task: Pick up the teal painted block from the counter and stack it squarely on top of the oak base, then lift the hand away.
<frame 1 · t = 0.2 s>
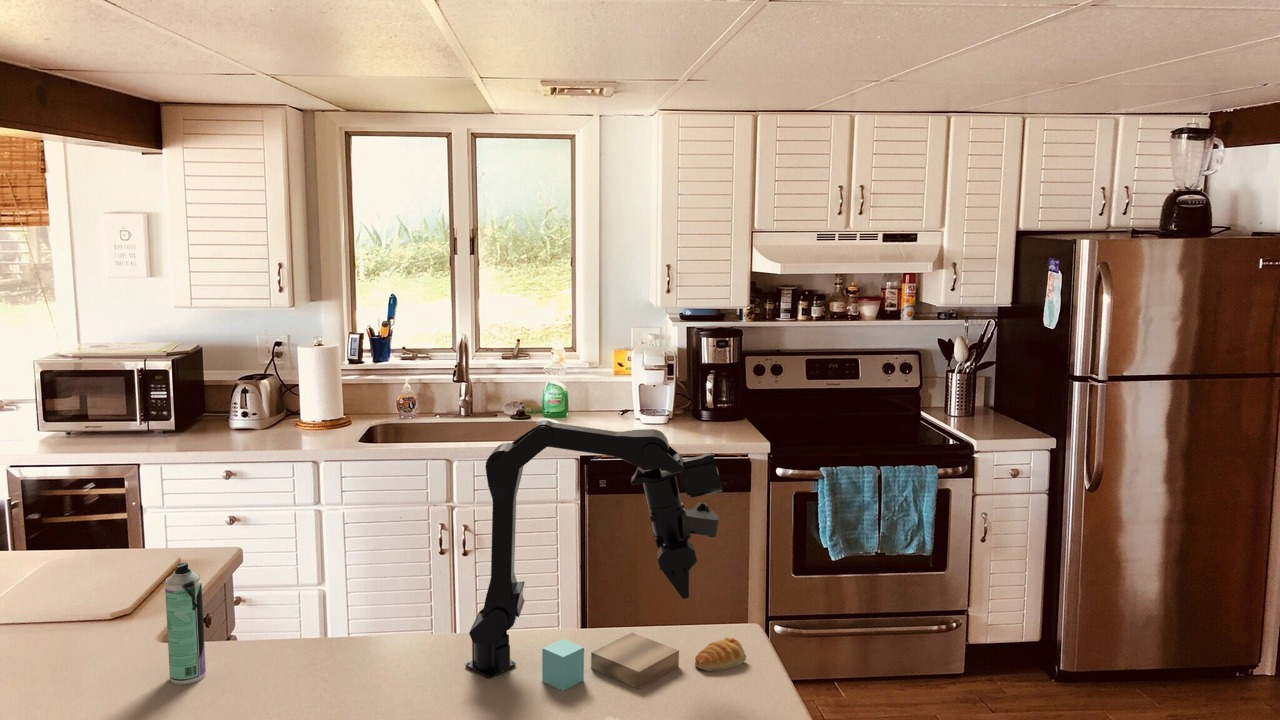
hand: (683, 588, 160), 15 cm above the worktop, tool pointing down, fingers open, 9 cm apart
teal block: (563, 680, 158), on the worktop
oak base: (635, 667, 163), on the worktop
spray can: (188, 678, 157), on the worktop
pastry: (721, 664, 166), on the worktop
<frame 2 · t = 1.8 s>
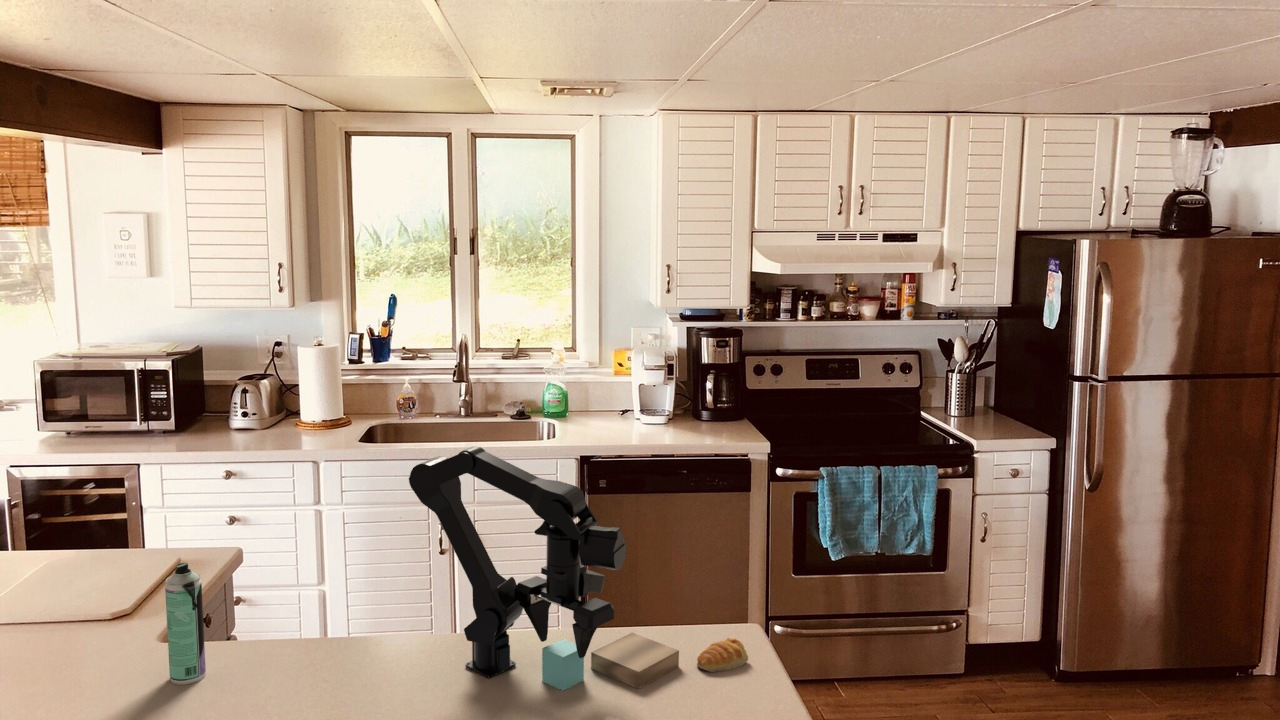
hand: (562, 649, 157), 6 cm above the worktop, tool pointing down, fingers open, 9 cm apart
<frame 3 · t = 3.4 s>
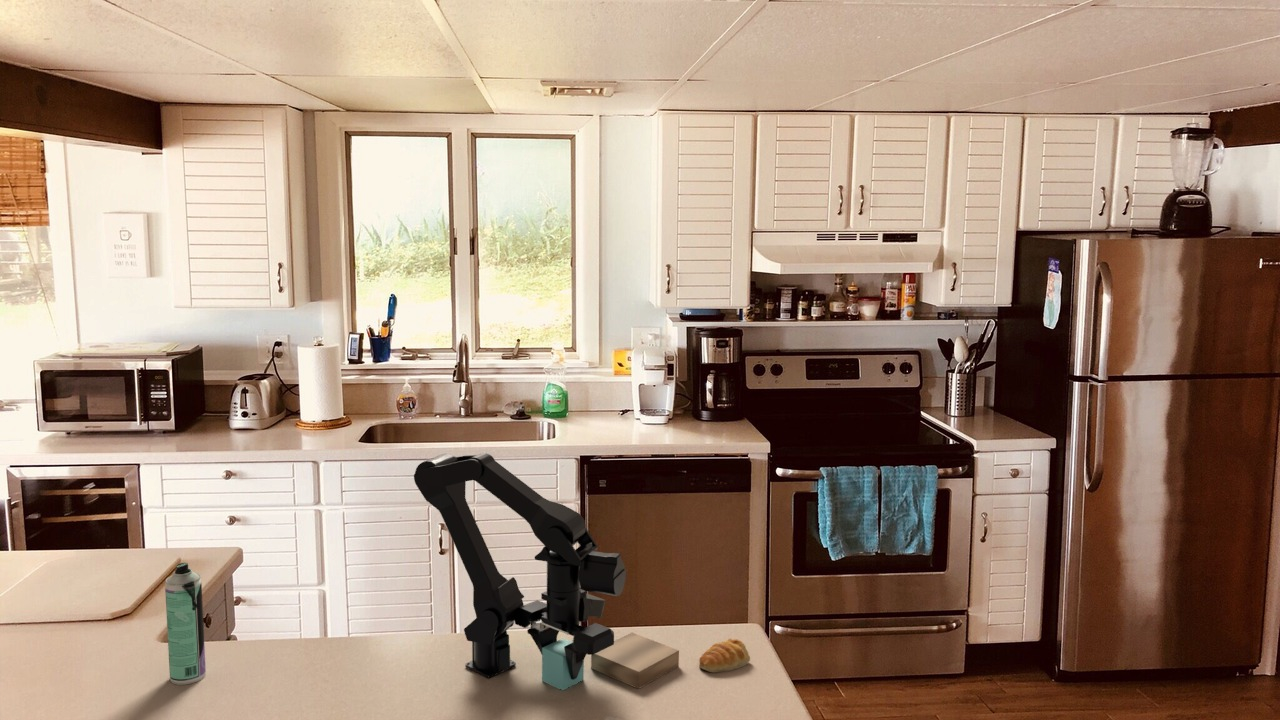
hand: (562, 673, 158), 1 cm above the worktop, tool pointing down, fingers closed on teal block, 5 cm apart
teal block: (562, 680, 158), on the worktop, touching gripper
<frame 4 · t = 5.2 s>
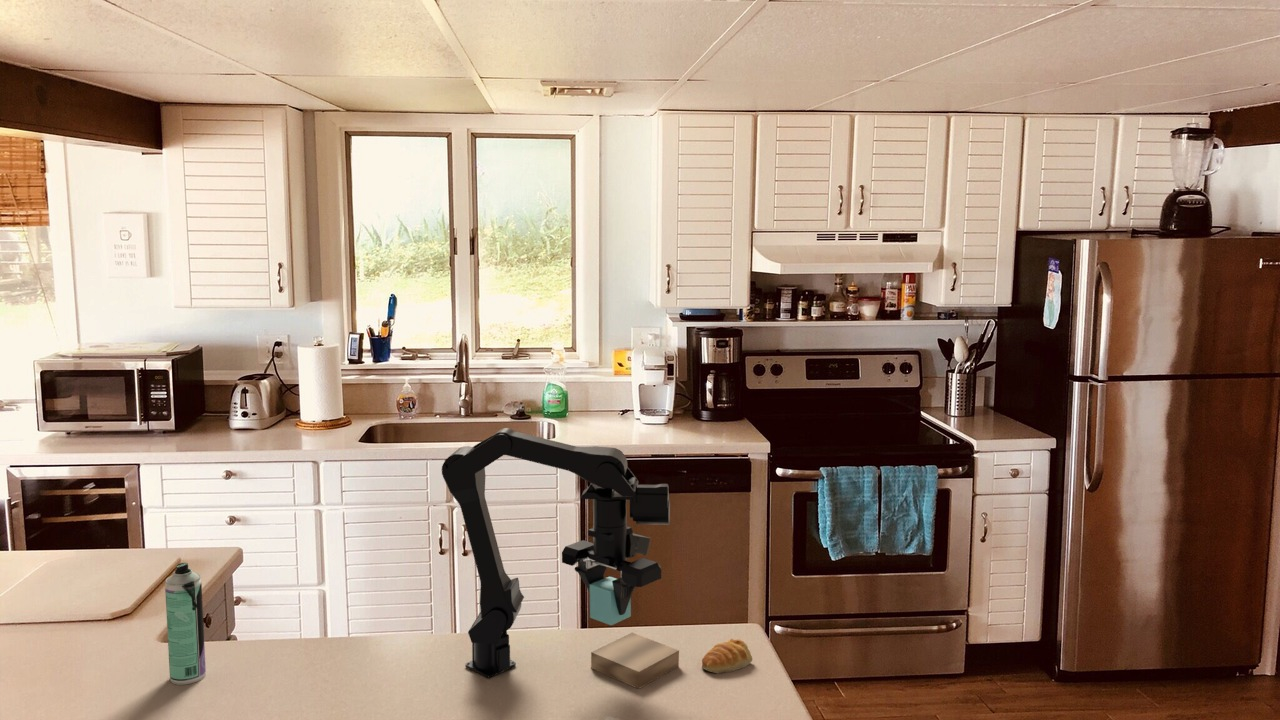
hand: (610, 610, 159), 11 cm above the worktop, tool pointing down, fingers closed on teal block, 5 cm apart
teal block: (610, 617, 160), point 10 cm above the worktop, touching gripper
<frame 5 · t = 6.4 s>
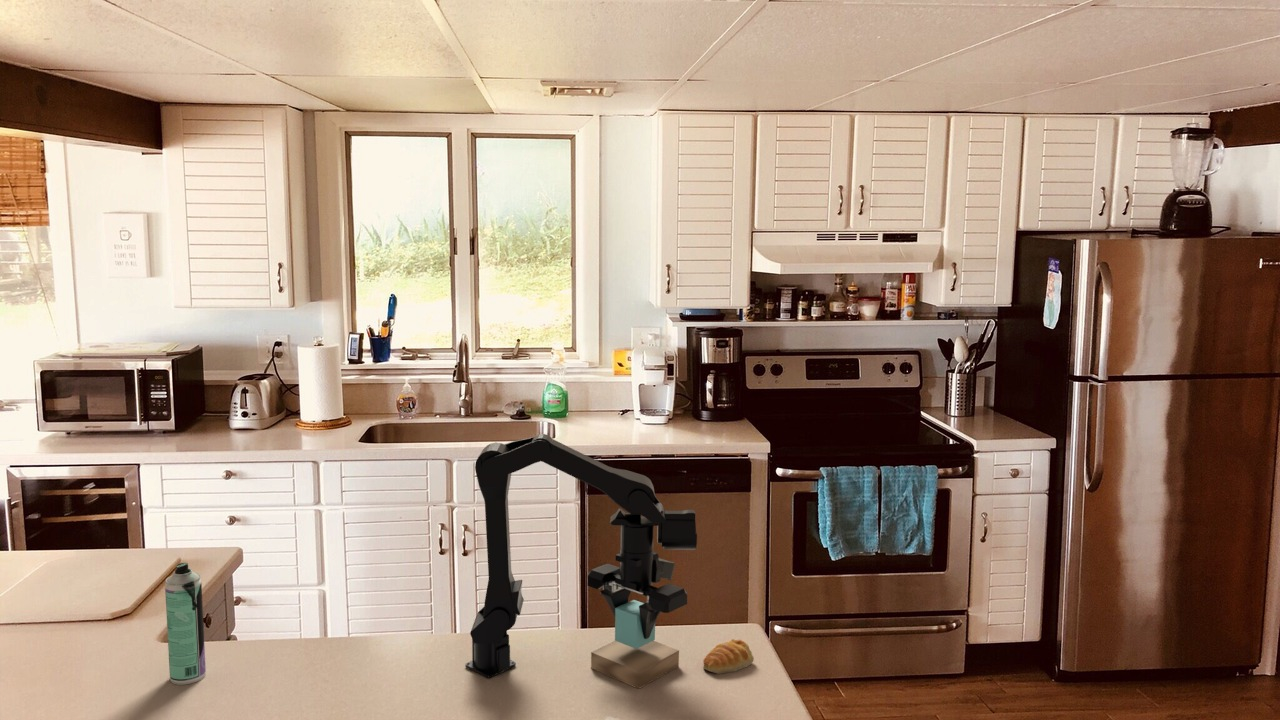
hand: (635, 633, 162), 6 cm above the worktop, tool pointing down, fingers closed on teal block, 5 cm apart
teal block: (634, 640, 163), point 5 cm above the worktop, touching gripper
when the fingers open (5 cm above the worktop, at t = 7.3 s): teal block drops 1 cm, resting on oak base.
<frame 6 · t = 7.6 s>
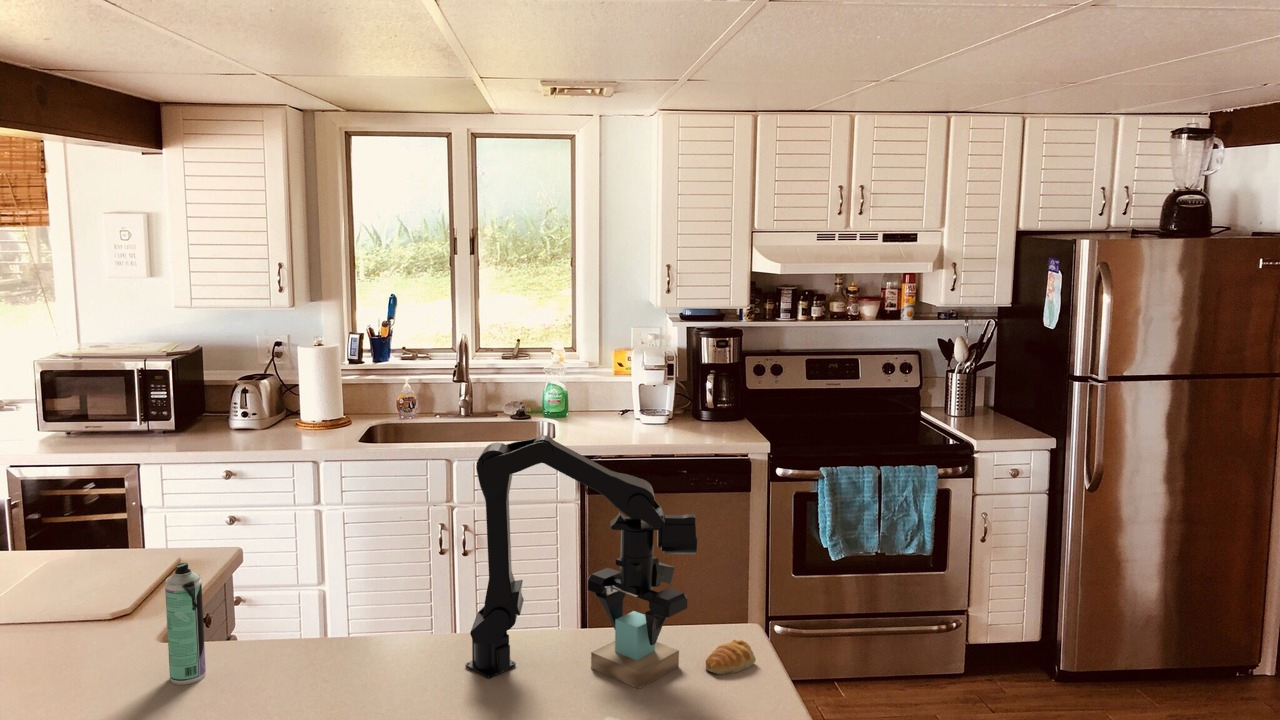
hand: (635, 637, 162), 5 cm above the worktop, tool pointing down, fingers open, 8 cm apart
teal block: (634, 651, 163), point 3 cm above the worktop, touching oak base
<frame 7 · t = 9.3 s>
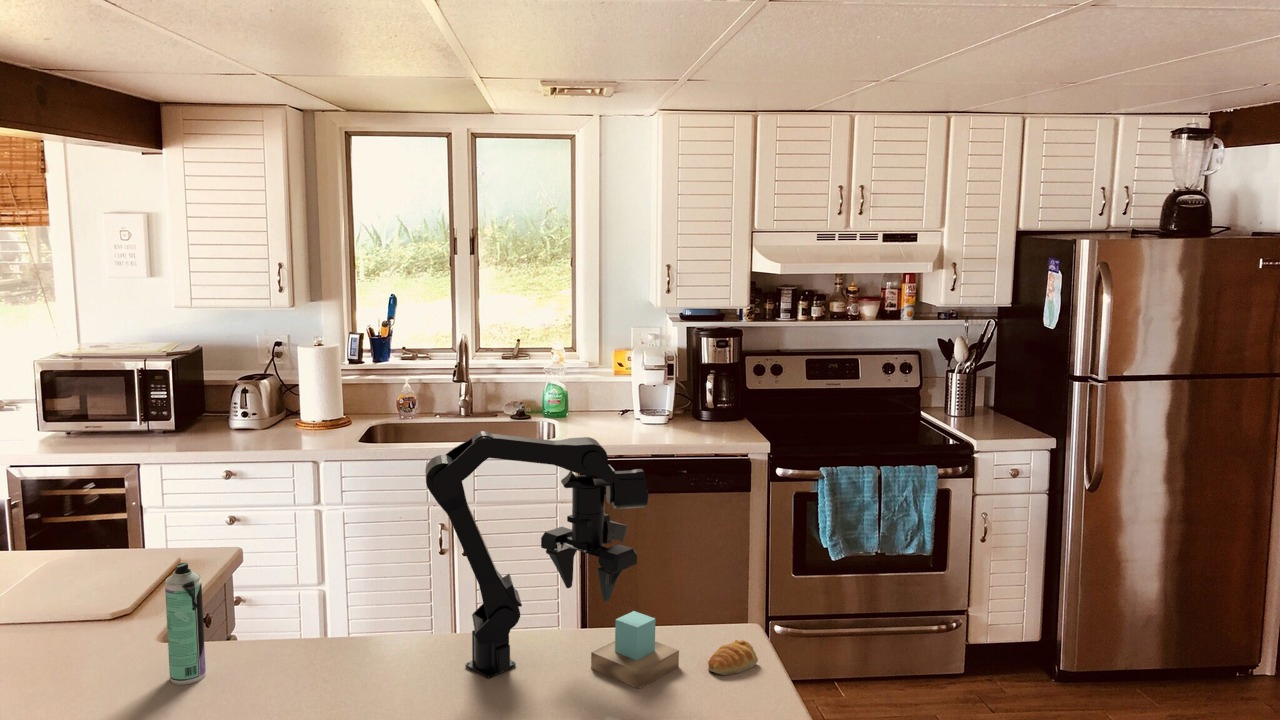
hand: (587, 594, 165), 12 cm above the worktop, tool pointing down, fingers open, 9 cm apart
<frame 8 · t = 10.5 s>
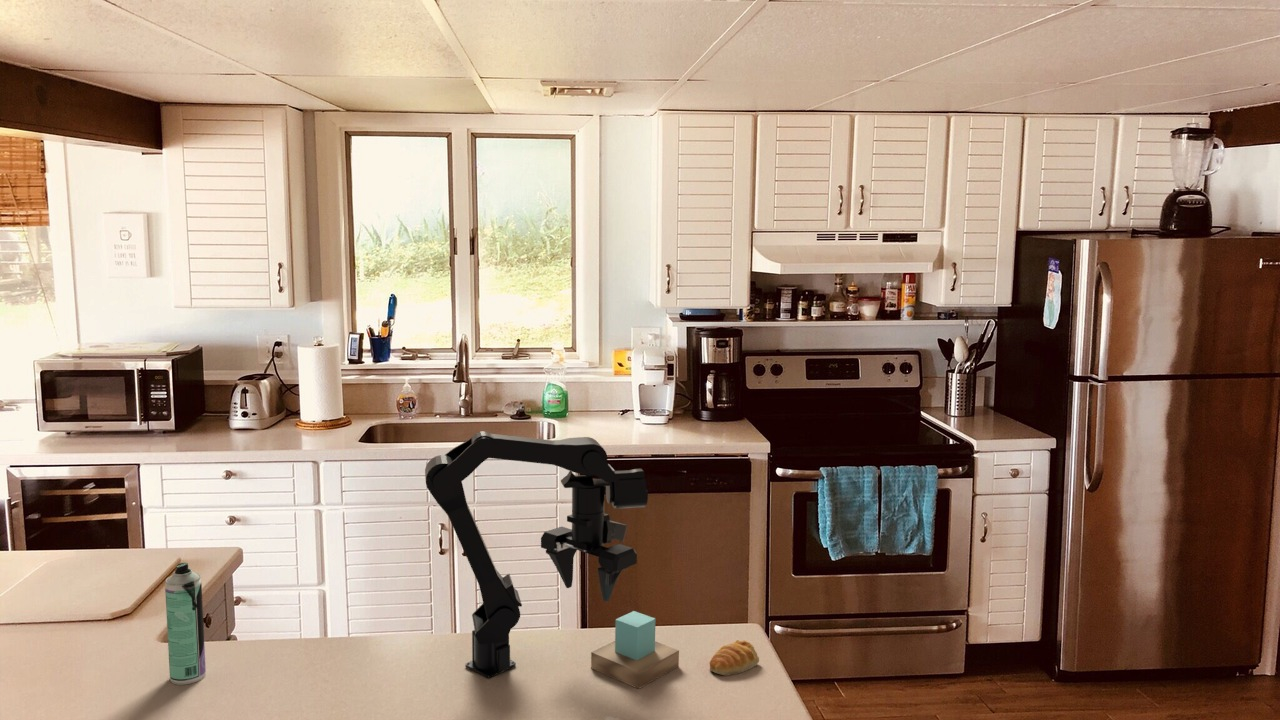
hand: (587, 594, 165), 12 cm above the worktop, tool pointing down, fingers open, 9 cm apart
at the end: teal block 0.1 cm off-centre on the oak base, point 3.0 cm above the oak base's base; teal block tilted 0°; the gripper is holding nothing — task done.
